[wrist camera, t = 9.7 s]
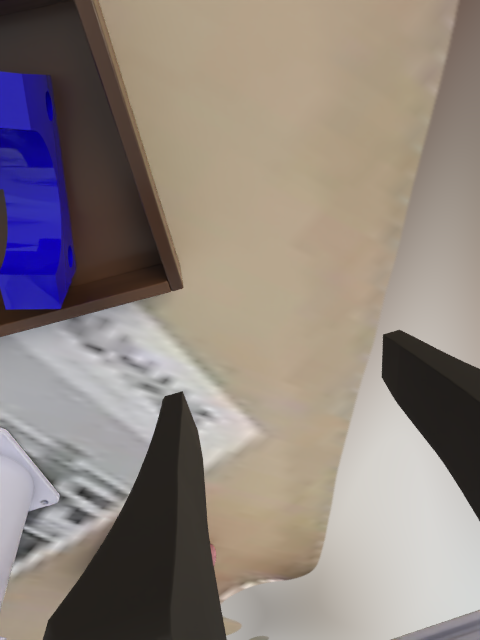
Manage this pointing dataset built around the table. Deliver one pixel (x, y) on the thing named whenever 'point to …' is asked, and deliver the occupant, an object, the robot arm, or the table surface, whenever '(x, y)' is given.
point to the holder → (90, 162)
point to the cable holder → (33, 195)
